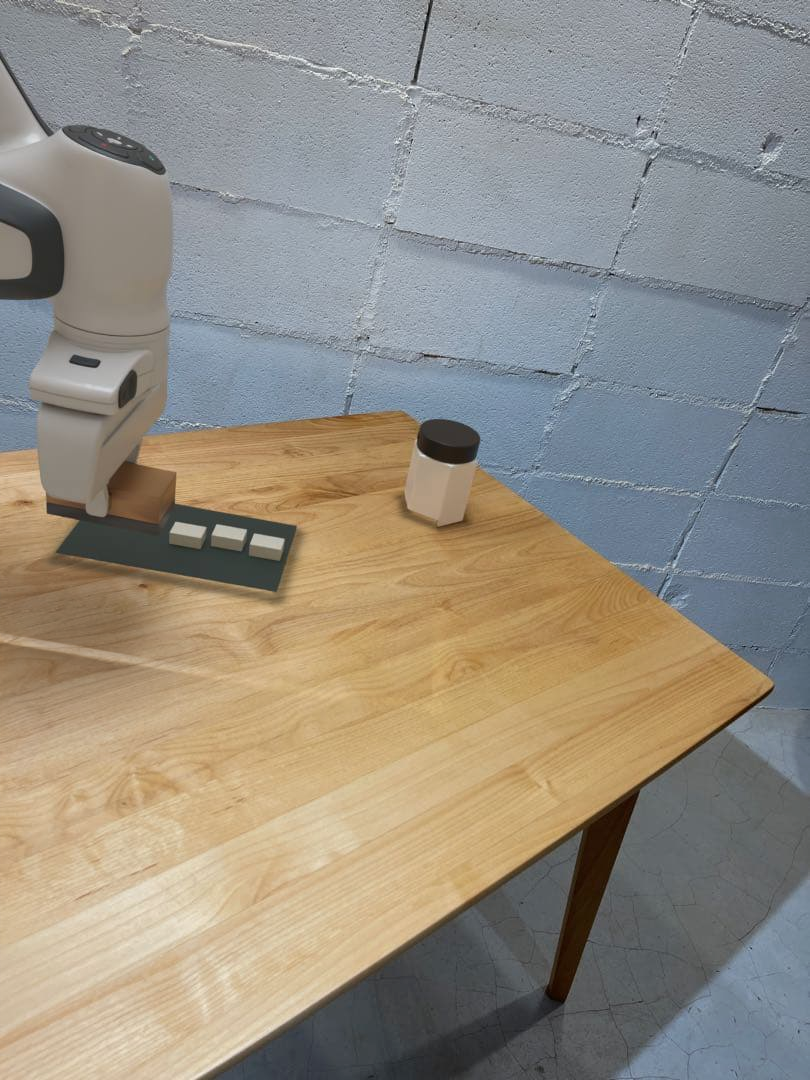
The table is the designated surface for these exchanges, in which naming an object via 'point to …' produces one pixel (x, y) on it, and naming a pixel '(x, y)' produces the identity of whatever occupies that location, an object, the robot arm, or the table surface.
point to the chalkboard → (186, 548)
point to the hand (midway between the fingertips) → (112, 495)
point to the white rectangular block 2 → (228, 537)
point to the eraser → (129, 500)
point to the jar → (442, 470)
